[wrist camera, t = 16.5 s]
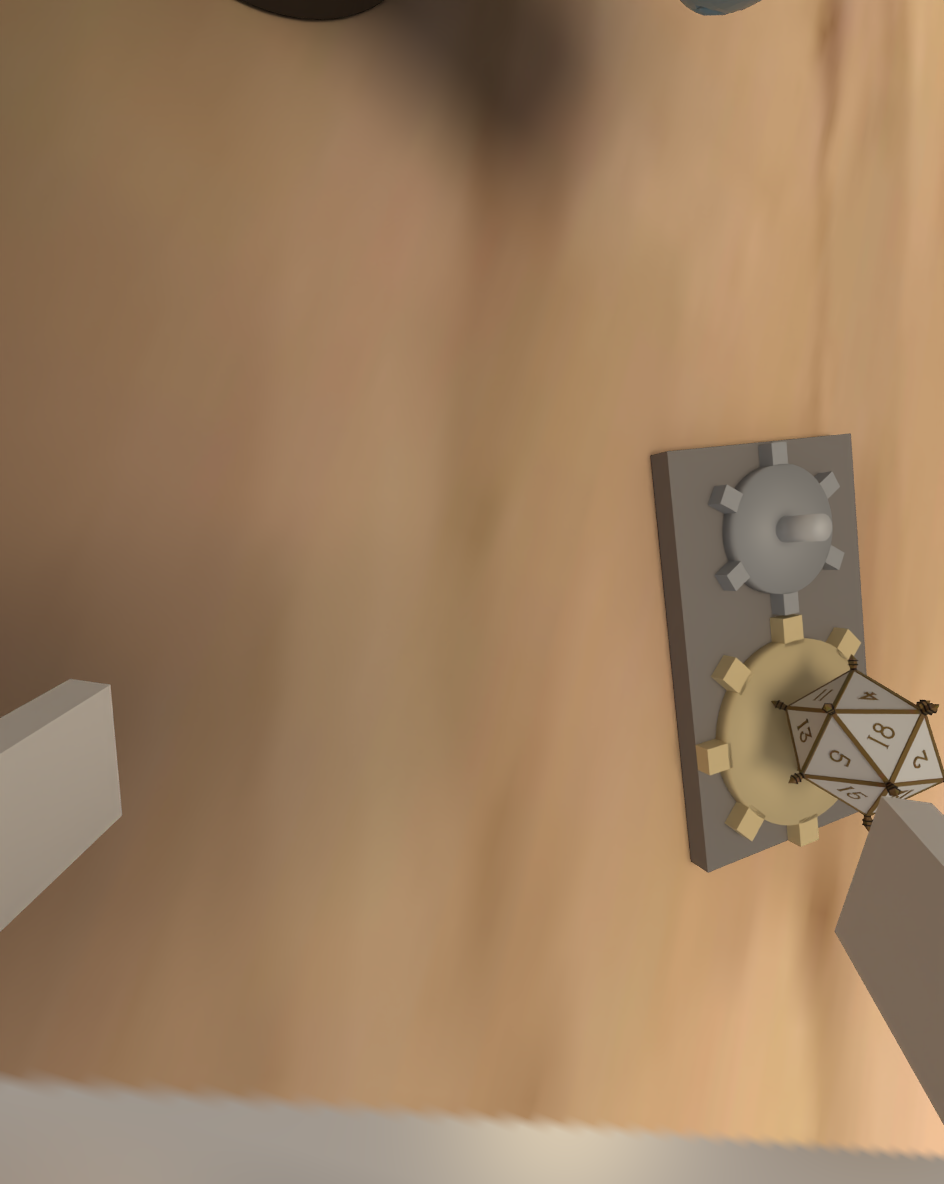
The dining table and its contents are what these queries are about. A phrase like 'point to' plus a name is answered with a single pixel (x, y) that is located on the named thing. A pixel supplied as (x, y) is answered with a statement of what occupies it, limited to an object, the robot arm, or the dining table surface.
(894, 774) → the game die
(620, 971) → the dining table surface
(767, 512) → the gear board
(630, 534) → the dining table surface
